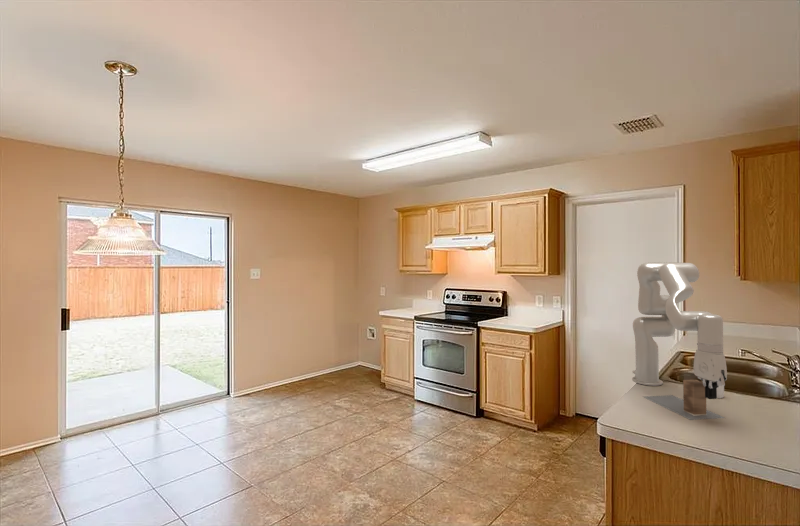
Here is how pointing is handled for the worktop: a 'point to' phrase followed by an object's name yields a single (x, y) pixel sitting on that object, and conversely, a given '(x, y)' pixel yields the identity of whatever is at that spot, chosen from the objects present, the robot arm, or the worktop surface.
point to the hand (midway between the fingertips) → (710, 398)
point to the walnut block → (694, 397)
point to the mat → (679, 407)
